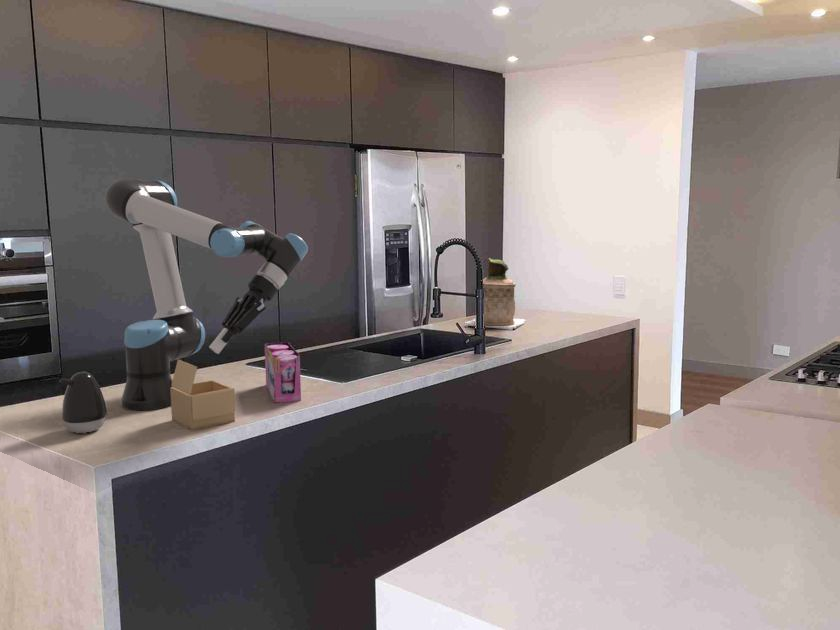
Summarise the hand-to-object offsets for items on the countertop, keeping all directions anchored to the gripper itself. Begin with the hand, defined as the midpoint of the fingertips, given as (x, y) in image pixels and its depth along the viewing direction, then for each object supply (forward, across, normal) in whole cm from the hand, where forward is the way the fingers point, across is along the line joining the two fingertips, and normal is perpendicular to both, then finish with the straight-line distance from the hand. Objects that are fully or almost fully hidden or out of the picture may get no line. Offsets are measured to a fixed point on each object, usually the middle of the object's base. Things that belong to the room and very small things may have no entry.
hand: (213, 350), depth 188 cm
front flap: (+10, +1, +1) cm, 10 cm away
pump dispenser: (+34, +14, +7) cm, 37 cm away
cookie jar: (-105, +51, -134) cm, 178 cm away
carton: (+16, +1, -11) cm, 19 cm away
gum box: (-6, +12, -33) cm, 36 cm away
